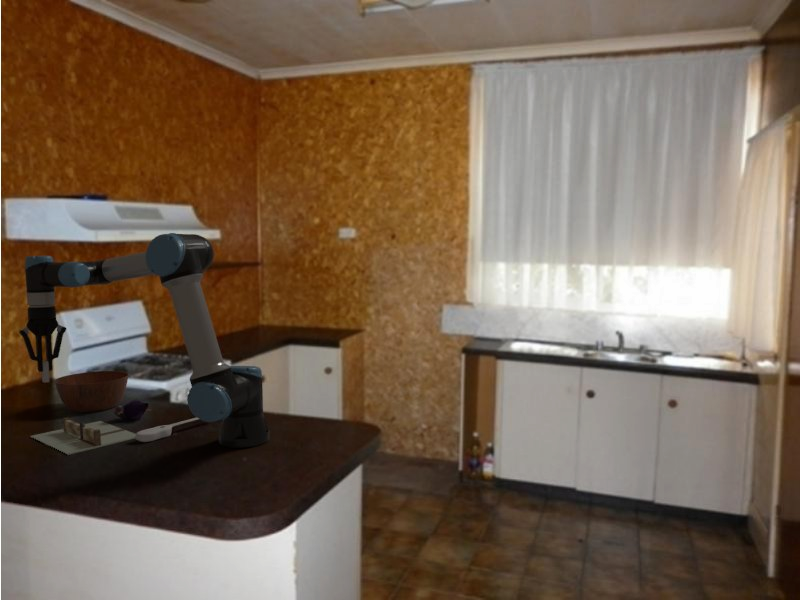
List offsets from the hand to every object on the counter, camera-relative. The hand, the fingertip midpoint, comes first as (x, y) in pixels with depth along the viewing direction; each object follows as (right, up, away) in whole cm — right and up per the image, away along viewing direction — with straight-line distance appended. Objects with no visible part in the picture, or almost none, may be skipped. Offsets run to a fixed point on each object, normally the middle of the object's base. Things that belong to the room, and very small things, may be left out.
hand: (45, 381), depth 195 cm
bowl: (-5, -15, +41) cm, 44 cm away
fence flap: (+6, -17, +4) cm, 19 cm away
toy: (+18, -16, +23) cm, 34 cm away
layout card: (+11, -18, +3) cm, 21 cm away
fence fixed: (+16, -18, -4) cm, 24 cm away
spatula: (+38, -17, +7) cm, 43 cm away
